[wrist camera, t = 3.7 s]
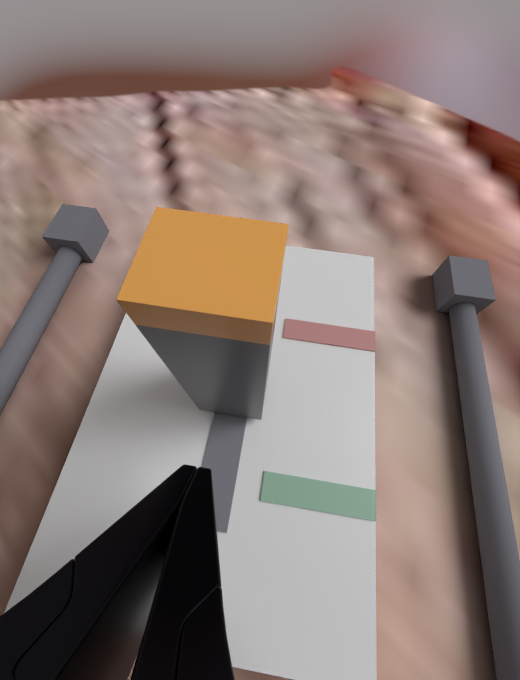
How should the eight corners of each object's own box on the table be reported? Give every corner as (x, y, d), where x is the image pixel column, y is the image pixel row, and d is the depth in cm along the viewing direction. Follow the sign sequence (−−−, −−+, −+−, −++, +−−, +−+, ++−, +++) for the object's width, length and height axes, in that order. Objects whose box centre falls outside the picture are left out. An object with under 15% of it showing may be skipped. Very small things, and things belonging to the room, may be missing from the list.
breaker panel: (358, 665, 12) (377, 698, 10) (36, 599, 13) (-1, 619, 11) (363, 276, 21) (374, 256, 19) (167, 249, 22) (159, 227, 20)
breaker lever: (261, 419, 14) (273, 322, 6) (199, 409, 14) (116, 299, 6) (268, 370, 15) (288, 224, 7) (210, 361, 15) (155, 207, 7)
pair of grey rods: (543, 727, 12) (595, 771, 10) (-127, 588, 13) (-188, 605, 11) (467, 279, 21) (487, 260, 19) (78, 226, 22) (62, 204, 21)
